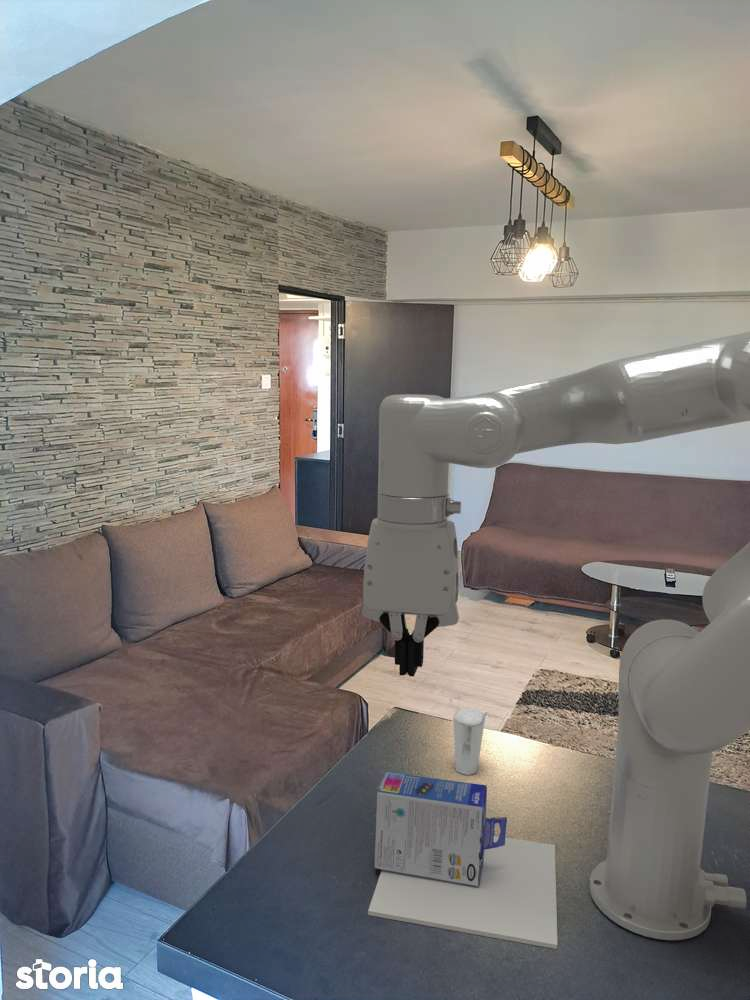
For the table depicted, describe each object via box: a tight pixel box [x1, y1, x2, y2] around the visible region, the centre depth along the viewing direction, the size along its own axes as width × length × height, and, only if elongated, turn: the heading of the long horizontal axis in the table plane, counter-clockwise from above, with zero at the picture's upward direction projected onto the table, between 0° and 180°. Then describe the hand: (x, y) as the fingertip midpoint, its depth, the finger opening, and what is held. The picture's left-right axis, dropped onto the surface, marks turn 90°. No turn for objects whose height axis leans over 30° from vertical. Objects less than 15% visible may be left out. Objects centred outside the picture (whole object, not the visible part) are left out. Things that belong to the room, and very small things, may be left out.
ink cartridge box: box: [374, 771, 508, 886], centre depth 87 cm, size 10×6×14 cm
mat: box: [367, 835, 558, 950], centre depth 86 cm, size 20×17×1 cm
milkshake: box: [452, 707, 488, 776], centre depth 110 cm, size 4×5×10 cm
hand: (408, 671), depth 85 cm, fingers closed
